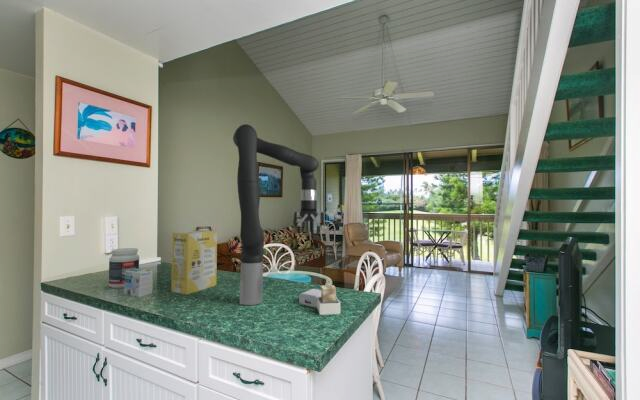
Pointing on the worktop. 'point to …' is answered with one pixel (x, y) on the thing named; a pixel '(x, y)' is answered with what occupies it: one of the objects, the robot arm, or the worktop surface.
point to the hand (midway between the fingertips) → (308, 234)
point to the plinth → (328, 307)
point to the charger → (310, 297)
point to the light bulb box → (138, 282)
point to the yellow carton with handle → (193, 261)
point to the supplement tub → (122, 265)
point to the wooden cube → (328, 293)
